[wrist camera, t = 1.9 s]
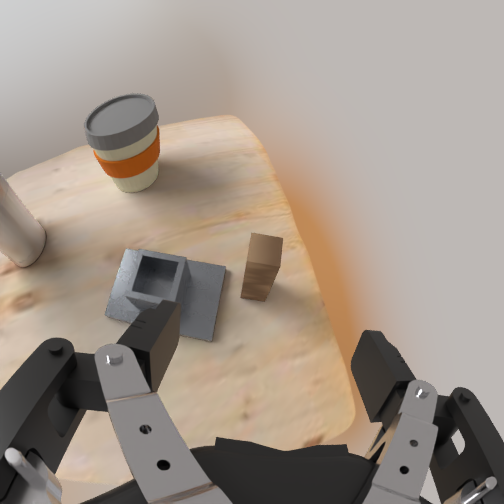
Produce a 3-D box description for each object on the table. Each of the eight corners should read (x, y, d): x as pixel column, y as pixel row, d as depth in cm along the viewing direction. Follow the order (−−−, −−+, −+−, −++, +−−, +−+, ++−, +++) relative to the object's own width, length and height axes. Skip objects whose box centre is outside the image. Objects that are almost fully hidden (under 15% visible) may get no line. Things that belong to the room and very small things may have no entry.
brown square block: (240, 297, 39) (246, 261, 29) (244, 275, 41) (251, 232, 30) (264, 301, 39) (280, 266, 29) (267, 279, 41) (283, 238, 30)
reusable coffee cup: (158, 201, 46) (141, 135, 33) (98, 199, 45) (69, 140, 32) (174, 153, 52) (166, 90, 38) (119, 153, 51) (102, 96, 38)
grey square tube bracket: (107, 316, 36) (88, 303, 30) (128, 251, 41) (115, 229, 35) (211, 341, 36) (209, 332, 30) (225, 269, 41) (226, 248, 35)
